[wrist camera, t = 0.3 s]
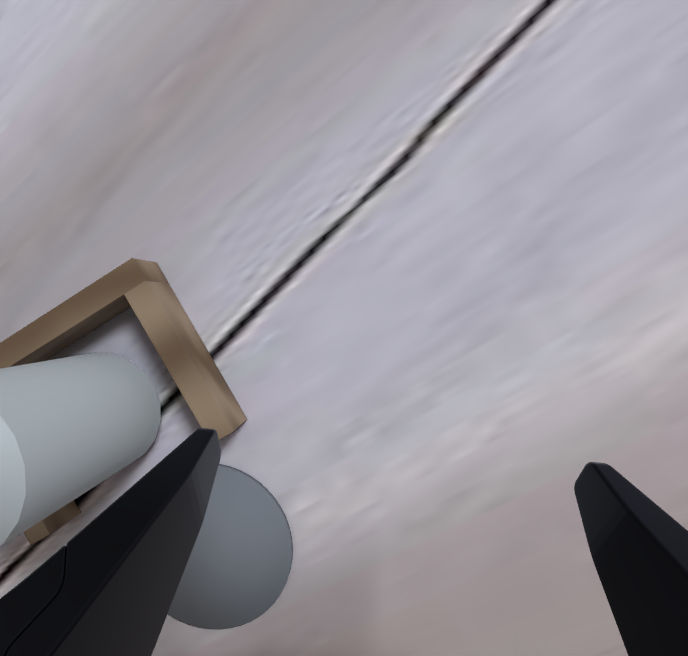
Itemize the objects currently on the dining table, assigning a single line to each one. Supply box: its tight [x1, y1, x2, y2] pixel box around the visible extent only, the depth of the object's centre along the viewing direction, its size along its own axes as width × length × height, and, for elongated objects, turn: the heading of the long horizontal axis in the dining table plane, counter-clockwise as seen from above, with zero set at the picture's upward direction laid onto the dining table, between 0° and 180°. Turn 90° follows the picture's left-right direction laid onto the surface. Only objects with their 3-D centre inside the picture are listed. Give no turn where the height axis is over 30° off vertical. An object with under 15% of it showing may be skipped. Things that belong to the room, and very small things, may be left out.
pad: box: [168, 464, 293, 629], centre depth 26 cm, size 11×11×1 cm
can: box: [0, 352, 161, 547], centre depth 20 cm, size 8×8×12 cm
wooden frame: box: [0, 258, 247, 545], centre depth 25 cm, size 12×15×2 cm
